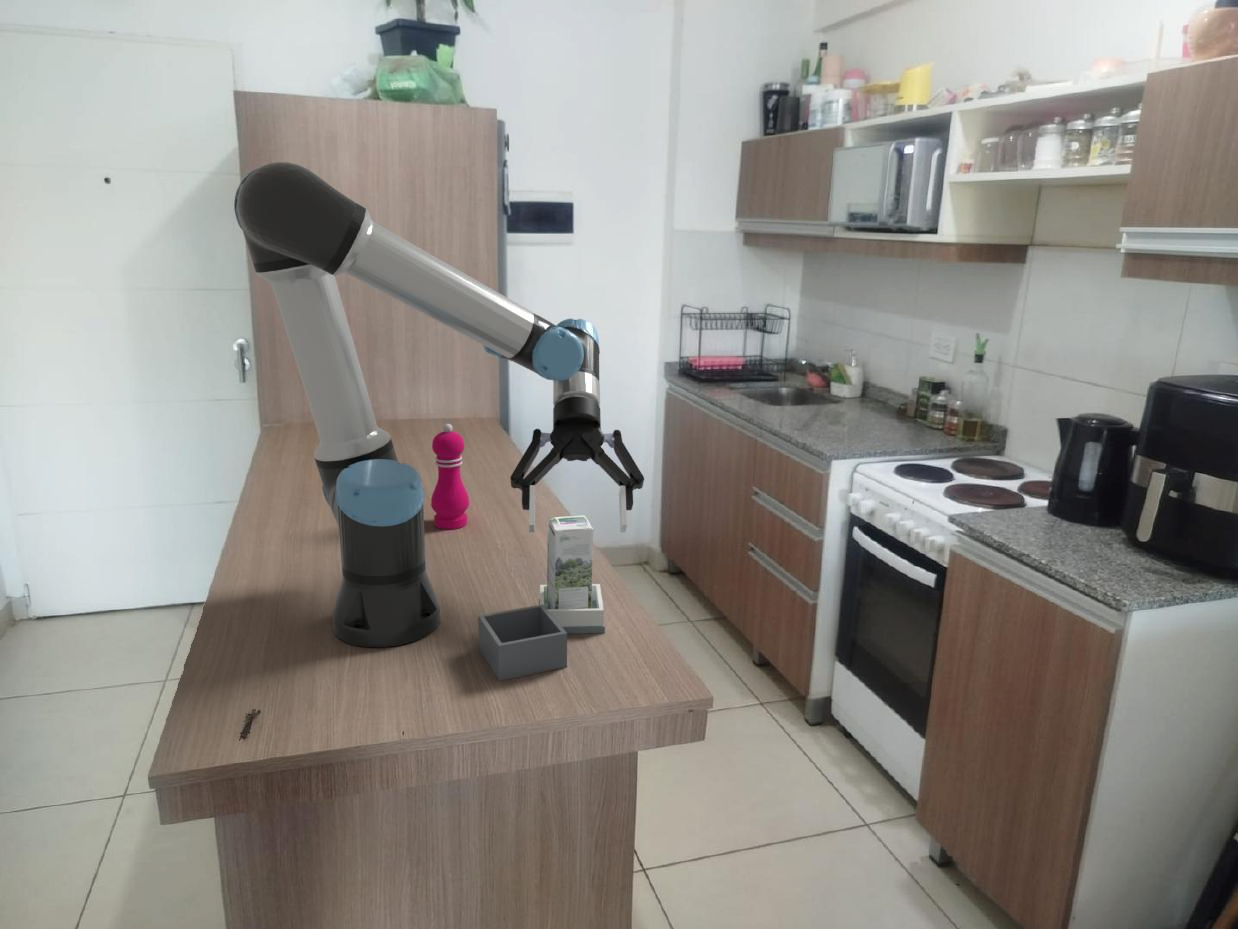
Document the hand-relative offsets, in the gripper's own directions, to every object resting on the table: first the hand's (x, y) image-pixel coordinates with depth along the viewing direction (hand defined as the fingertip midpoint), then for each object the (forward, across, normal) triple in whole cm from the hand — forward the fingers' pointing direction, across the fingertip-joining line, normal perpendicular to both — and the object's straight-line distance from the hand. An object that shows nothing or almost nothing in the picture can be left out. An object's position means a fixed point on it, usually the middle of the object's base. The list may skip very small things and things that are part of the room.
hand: (577, 529), depth 128 cm
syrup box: (+10, +1, -8) cm, 13 cm away
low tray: (+11, +1, -8) cm, 14 cm away
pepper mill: (-18, +23, -38) cm, 48 cm away
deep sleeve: (+19, +8, 0) cm, 21 cm away
